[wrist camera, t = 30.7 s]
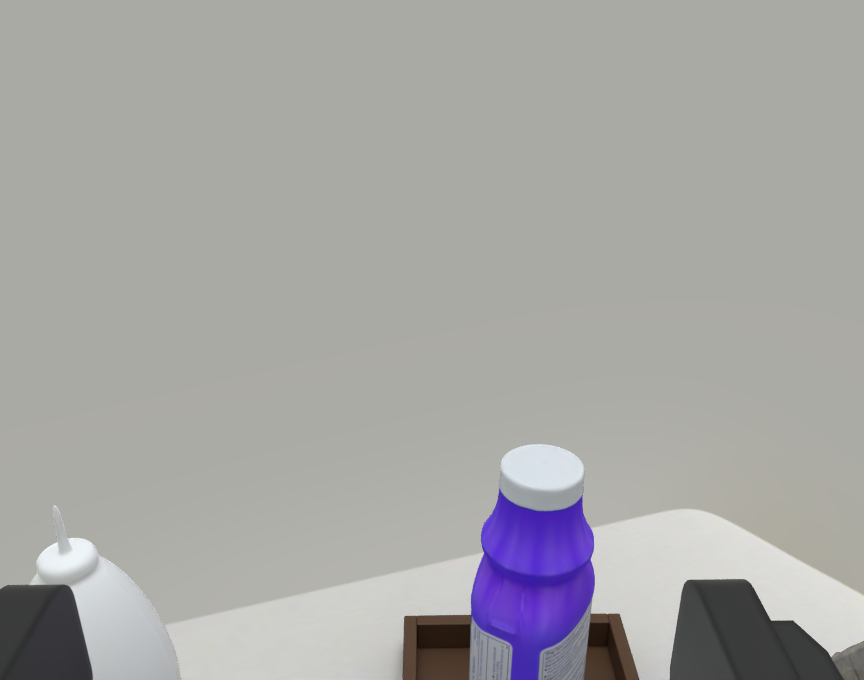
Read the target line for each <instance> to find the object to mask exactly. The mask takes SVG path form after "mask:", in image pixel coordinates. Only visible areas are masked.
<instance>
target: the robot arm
mask: <svg viewBox="0 0 864 680" xmlns="http://www.w3.org/2000/svg"><path fill="white" fill-rule="evenodd" d="M0 680H93V673H92V667H91V663H90V659H89V654H88V650H87V646H86V642H85V638H84V634H83V630H82V625H81V621H80V617H79V613H78V609H77V605H76V600H75V597H74V593H73V591H72V589H71V588H70V587H69V586H68V585H64V584H60V585H7V586H5V587H3V588H2V589H0ZM670 680H844V679H843V677H842V676H841V674H840V672H839V670H838V669H837V667H836V665H835V664H834V662H833V660H832V658H831V657H830V655H829V653H828V652H827V651H826V650H825V649H824V648H823V647H822V646H821V645H820V644H818V643H817V642H816V641H815V640H814V639H813V638H812V637H811V636H810V635H808V634H807V633H806V632H805V631H804V630H803V629H802V628H801V627H800V626H798V625H797V624H796V623H795V622H794V621H771V620H770V618H769V616H768V614H767V613H766V611H765V609H764V607H763V605H762V603H761V601H760V599H759V597H758V596H757V594H756V592H755V590H754V588H753V587H752V585H751V584H750V583H749V582H748V581H747V580H744V579H724V580H687V581H686V582H685V584H684V587H683V590H682V595H681V602H680V608H679V614H678V620H677V627H676V633H675V639H674V645H673V652H672V658H671V665H670Z"/></svg>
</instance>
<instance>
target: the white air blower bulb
mask: <svg viewBox="0 0 864 680" xmlns="http://www.w3.org/2000/svg"><path fill="white" fill-rule="evenodd" d="M53 521H54V527H55V533H56V538H57V543H55V544H53V545H51V546H49V547H48V548H46V549H45V550H44V551H43V552H42V553H41V554H40V556H39V557H38V559H37V563H36V569H37V574H36V576H35V577H34V578H33V580H32V581H31V583H30V585H60V584H64V585H68V586H69V587H70V588H71V589H72V591H73V593H74V597H75V600H76V605H77V609H78V613H79V617H80V621H81V625H82V630H83V634H84V638H85V642H86V646H87V650H88V654H89V659H90V663H91V667H92V673H93V680H181V674H180V669H179V663H178V660H177V656H176V652H175V649H174V647H173V644H172V641H171V639H170V637H169V634H168V632H167V630H166V628H165V626H164V624H163V622H162V620H161V618H160V616H159V615H158V613H157V611H156V610H155V608H154V607H153V605H152V604H151V602H150V601H149V600H148V598H147V597H146V596H145V595H144V593H143V592H142V591H141V590H140V588H139V587H138V586H137V585H136V584H135V583H134V582H133V581H132V580H131V578H130V577H129V576H127V575H126V574H125V573H124V572H123V571H122V570H121V569H120V568H118V567H117V566H116V565H114V564H113V563H111V562H110V561H109V560H107V559H105V558H103V557H102V556H99V555H98V551H97V549H96V547H95V546H94V545H93V544H92V543H91V542H90V541H88V540H85V539H82V538H69V539H68V536H67V532H66V529H65V526H64V523H63V519H62V516H61V514H60V511H59V509H58V508H57V507H56V506H55V505H54V506H53Z"/></svg>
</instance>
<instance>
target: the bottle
mask: <svg viewBox="0 0 864 680" xmlns="http://www.w3.org/2000/svg"><path fill="white" fill-rule="evenodd" d="M583 483H584V466H583V464H582V462H581V461H580V459H579V458H578V457H576V456H575V455H574V454H572V453H571V452H569V451H567V450H565V449H562V448H559V447H556V446H552V445H542V444H534V445H525V446H521V447H518V448H516V449H514V450H511V451H510V452H509V453H507V454H506V455H505V456H504V457H503V459H502V461H501V467H500V478H499V496H498V501H497V504H496V507H495V509H494V511H493V513H492V514H491V515H490V517H489V518H488V519H487V520H486V522H485V523H484V525H483V528H482V534H481V543H482V548H483V551H484V555H483V557H482V560H481V563H480V565H479V568H478V571H477V574H476V577H475V581H474V585H473V589H472V594H471V640H470V673H469V680H584V675H585V663H586V654H587V644H588V634H589V624H590V614H591V606H592V597H593V593H594V586H595V576H594V569H593V566H592V562H591V560H590V559H591V556H592V554H593V550H594V536H593V532H592V530H591V528H590V526H589V525H588V524H587V522H586V519H585V517H584V514H583V508H582V496H583V490H584V487H583Z"/></svg>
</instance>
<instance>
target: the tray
mask: <svg viewBox="0 0 864 680" xmlns="http://www.w3.org/2000/svg"><path fill="white" fill-rule="evenodd" d="M470 640H471V615H436V616H405V617H404V648H403V680H469V673H470ZM584 680H639V677H638V674H637V670H636V667H635V664H634V660H633V657H632V654H631V650H630V647H629V644H628V640H627V637H626V634H625V630H624V627H623V624H622V621H621V617H620V614H608V615H607V614H590V624H589V634H588V644H587V654H586V663H585V675H584Z"/></svg>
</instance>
